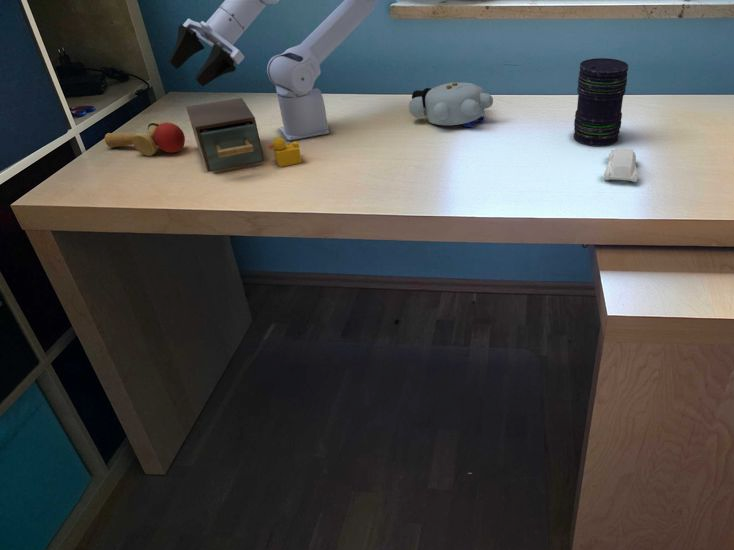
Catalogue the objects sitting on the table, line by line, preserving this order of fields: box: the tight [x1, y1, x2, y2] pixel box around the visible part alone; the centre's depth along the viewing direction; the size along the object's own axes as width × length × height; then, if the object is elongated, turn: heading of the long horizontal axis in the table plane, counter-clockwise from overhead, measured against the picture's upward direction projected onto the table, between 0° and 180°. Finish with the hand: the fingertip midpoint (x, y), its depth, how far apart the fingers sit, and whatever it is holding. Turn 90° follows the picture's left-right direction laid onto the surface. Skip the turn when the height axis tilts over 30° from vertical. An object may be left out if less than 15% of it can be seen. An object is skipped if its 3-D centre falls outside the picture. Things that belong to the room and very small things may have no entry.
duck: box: [267, 137, 303, 168], centre depth 129 cm, size 6×3×5 cm, turn 116°
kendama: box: [104, 120, 186, 157], centre depth 135 cm, size 8×6×18 cm
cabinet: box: [185, 97, 265, 172], centre depth 131 cm, size 13×11×9 cm
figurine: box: [408, 81, 494, 128], centre depth 146 cm, size 17×8×20 cm
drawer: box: [200, 122, 264, 171], centre depth 128 cm, size 17×10×7 cm, turn 26°
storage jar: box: [573, 57, 629, 147], centre depth 133 cm, size 10×10×15 cm
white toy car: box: [603, 147, 639, 183], centre depth 122 cm, size 12×6×5 cm, turn 168°
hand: (185, 73), depth 121 cm, fingers open, 7 cm apart
